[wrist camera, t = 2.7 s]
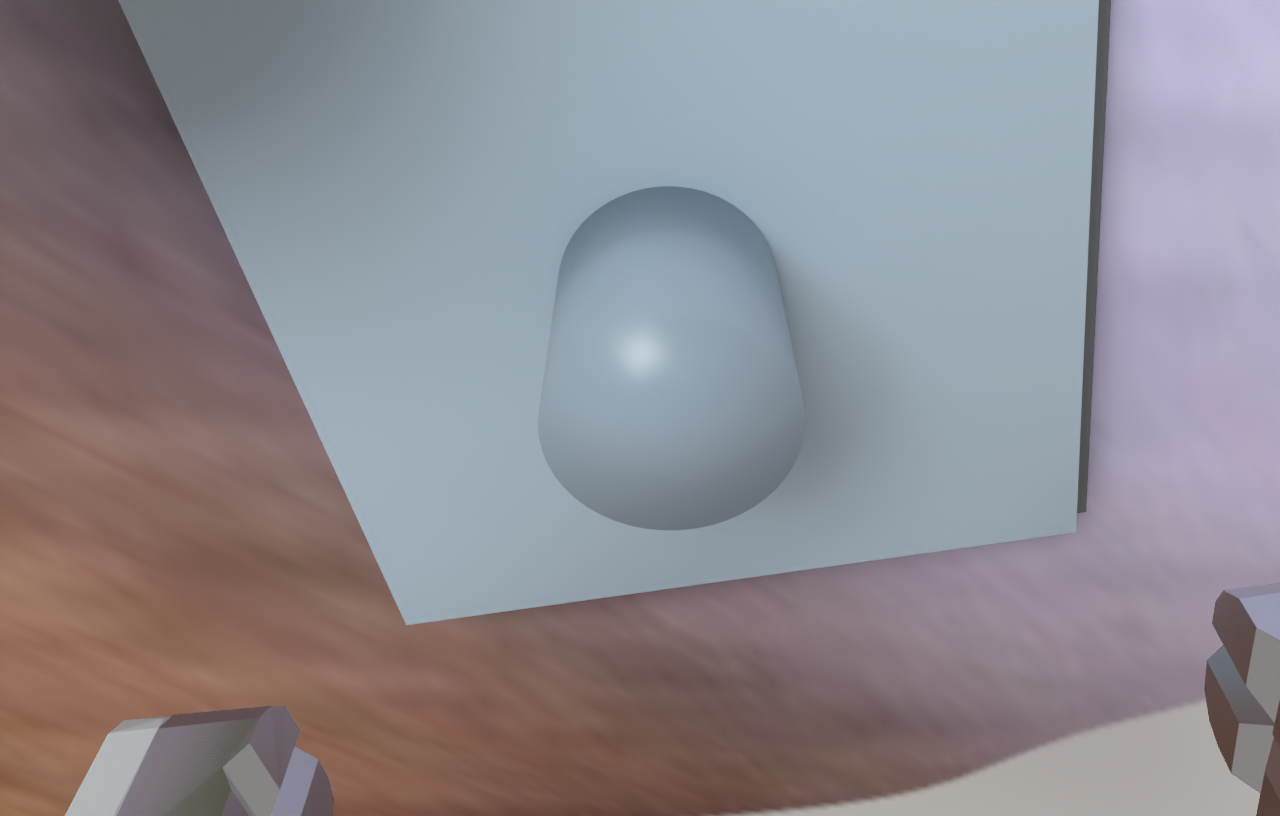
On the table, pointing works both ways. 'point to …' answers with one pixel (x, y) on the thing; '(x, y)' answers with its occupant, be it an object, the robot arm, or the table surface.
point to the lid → (658, 273)
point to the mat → (1093, 243)
